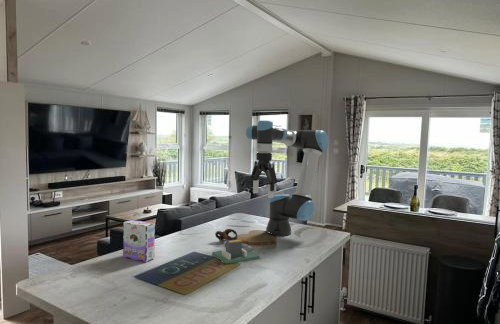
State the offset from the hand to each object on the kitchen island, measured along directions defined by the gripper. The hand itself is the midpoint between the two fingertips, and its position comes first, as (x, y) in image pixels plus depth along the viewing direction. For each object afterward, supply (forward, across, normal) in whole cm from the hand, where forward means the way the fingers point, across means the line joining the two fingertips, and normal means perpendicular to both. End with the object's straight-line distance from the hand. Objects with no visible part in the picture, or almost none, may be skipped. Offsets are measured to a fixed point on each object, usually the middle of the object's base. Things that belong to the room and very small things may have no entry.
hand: (262, 195), depth 166 cm
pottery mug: (+28, -20, -9) cm, 36 cm away
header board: (+28, +1, -15) cm, 32 cm away
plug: (+27, +3, -17) cm, 32 cm away
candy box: (+28, -16, -56) cm, 65 cm away
